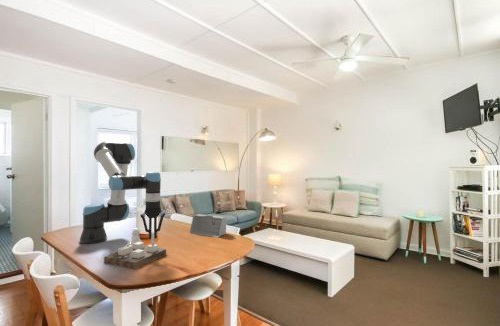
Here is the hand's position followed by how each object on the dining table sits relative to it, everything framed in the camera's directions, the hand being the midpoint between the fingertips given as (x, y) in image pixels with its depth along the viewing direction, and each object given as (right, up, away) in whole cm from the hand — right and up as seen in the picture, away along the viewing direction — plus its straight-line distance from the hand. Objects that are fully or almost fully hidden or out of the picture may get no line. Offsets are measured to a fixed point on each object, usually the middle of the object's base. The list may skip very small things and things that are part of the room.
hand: (152, 244), depth 148 cm
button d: (0, -4, 0) cm, 4 cm away
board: (-7, -6, -4) cm, 10 cm away
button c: (-9, -4, +4) cm, 11 cm away
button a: (-13, -4, -5) cm, 15 cm away
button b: (-4, -4, -9) cm, 11 cm away
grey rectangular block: (+24, -7, +51) cm, 57 cm away
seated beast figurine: (-16, -7, +14) cm, 22 cm away
